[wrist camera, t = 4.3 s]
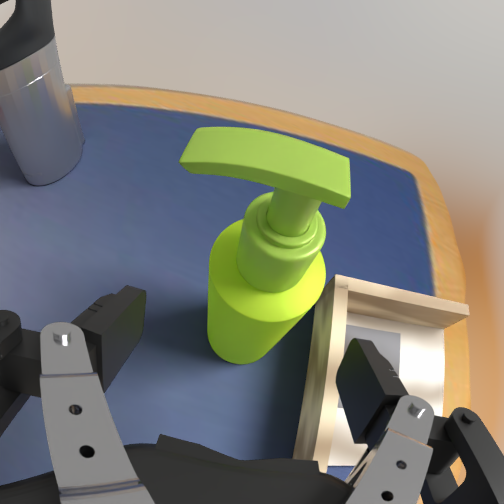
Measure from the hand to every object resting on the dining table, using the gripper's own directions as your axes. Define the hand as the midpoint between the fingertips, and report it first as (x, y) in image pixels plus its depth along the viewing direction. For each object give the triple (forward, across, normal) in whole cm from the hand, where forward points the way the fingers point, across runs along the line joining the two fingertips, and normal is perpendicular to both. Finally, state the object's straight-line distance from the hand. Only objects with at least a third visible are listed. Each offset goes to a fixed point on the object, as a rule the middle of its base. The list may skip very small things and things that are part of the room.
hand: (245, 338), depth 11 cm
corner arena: (+12, -15, +10) cm, 21 cm away
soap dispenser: (+14, 0, +8) cm, 16 cm away
